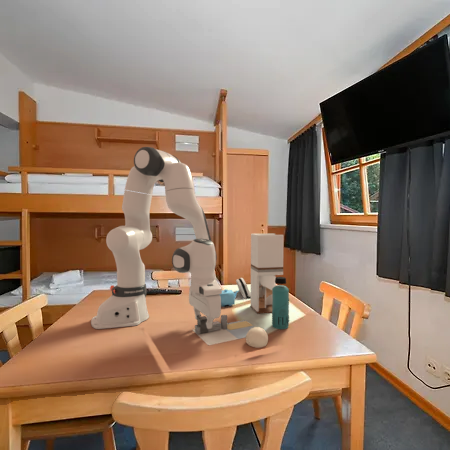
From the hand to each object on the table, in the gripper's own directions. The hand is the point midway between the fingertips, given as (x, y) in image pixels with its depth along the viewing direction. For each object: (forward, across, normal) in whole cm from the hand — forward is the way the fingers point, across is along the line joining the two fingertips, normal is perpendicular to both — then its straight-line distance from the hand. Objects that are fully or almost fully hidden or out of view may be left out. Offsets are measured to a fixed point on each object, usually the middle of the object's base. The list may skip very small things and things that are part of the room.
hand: (203, 323), depth 103 cm
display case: (+5, -11, +36) cm, 38 cm away
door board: (+5, +3, +8) cm, 10 cm away
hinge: (+5, -42, +43) cm, 60 cm away
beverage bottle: (+5, +8, +28) cm, 30 cm away
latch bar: (+3, 0, +2) cm, 3 cm away
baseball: (+5, +16, +12) cm, 21 cm away
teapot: (+5, -29, +26) cm, 39 cm away
